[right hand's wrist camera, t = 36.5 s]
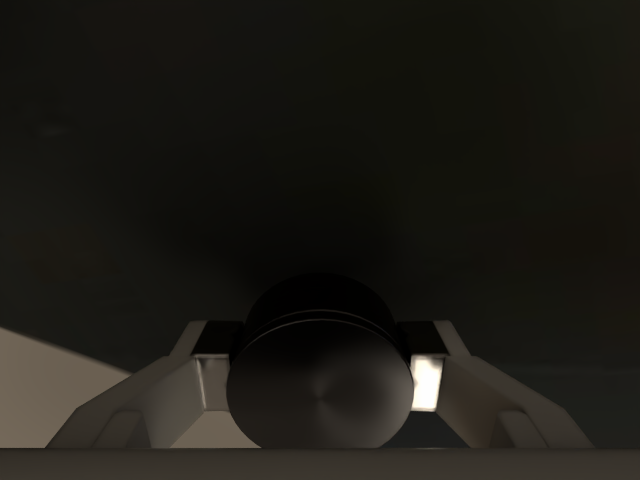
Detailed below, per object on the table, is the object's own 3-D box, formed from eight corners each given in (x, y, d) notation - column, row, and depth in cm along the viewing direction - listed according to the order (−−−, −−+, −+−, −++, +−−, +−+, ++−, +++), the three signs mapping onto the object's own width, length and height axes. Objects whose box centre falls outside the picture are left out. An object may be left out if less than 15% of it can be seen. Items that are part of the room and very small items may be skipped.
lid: (213, 337, 10) (186, 396, 8) (322, 240, 9) (323, 280, 7) (317, 417, 12) (317, 487, 9) (426, 341, 10) (453, 401, 8)
